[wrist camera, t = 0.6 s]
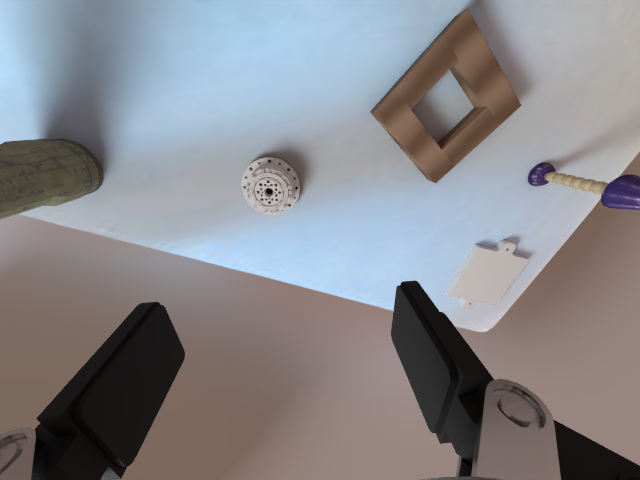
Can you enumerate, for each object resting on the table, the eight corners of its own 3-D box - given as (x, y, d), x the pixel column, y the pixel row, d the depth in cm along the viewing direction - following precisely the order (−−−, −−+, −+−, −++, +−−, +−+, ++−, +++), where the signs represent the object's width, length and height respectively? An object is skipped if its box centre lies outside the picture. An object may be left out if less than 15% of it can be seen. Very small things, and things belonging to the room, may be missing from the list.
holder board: (370, 111, 38) (375, 111, 35) (454, 17, 33) (467, 8, 31) (427, 179, 43) (435, 183, 41) (506, 106, 39) (521, 105, 36)
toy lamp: (523, 188, 45) (631, 221, 31) (526, 164, 43) (644, 186, 28) (548, 182, 45) (669, 211, 30) (553, 157, 43) (685, 175, 28)
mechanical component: (299, 212, 45) (299, 157, 40) (299, 221, 41) (299, 161, 36) (246, 212, 44) (240, 155, 40) (240, 220, 40) (233, 159, 36)
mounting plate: (479, 232, 50) (485, 236, 48) (529, 245, 52) (536, 249, 50) (439, 298, 57) (443, 304, 55) (484, 307, 59) (489, 312, 58)
